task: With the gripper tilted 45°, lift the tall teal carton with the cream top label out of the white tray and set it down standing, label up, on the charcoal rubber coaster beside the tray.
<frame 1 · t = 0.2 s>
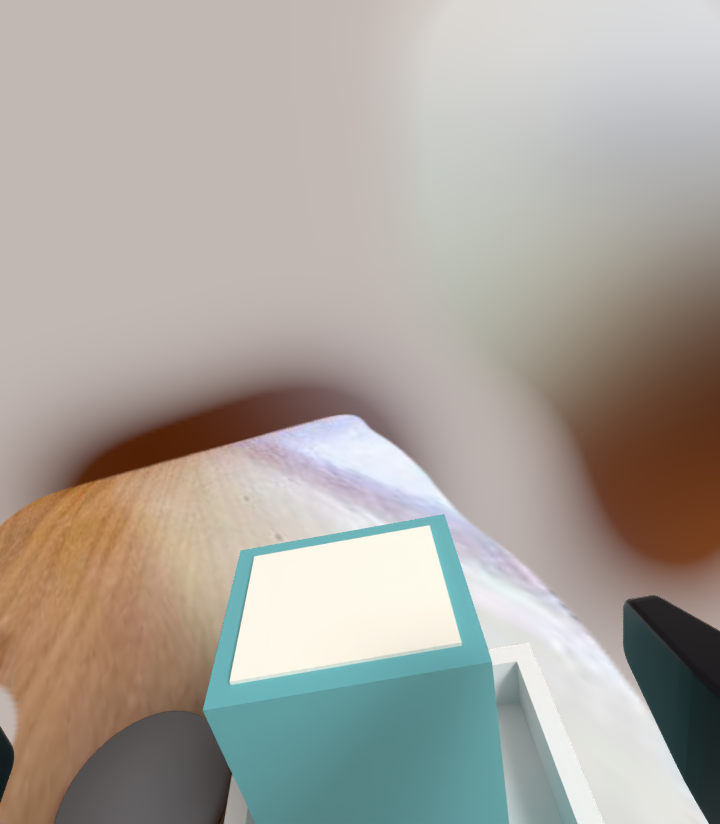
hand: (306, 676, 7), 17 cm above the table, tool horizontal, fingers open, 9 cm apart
charcoal coaster: (149, 803, 23), on the table
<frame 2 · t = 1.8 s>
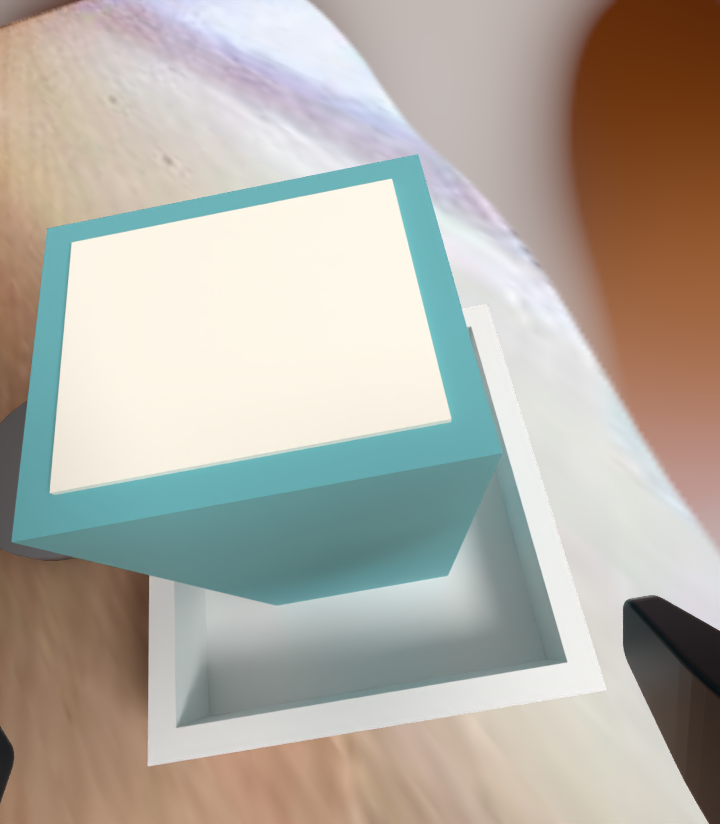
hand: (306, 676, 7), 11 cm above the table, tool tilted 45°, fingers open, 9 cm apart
teal carton: (351, 519, 19), resting on white tray
charcoal coaster: (73, 472, 22), on the table
white tray: (352, 521, 20), on the table
when the fingers open (9 cm above the table, at t = 7.5 s): teal carton drops 2 cm, resting on charcoal coaster.
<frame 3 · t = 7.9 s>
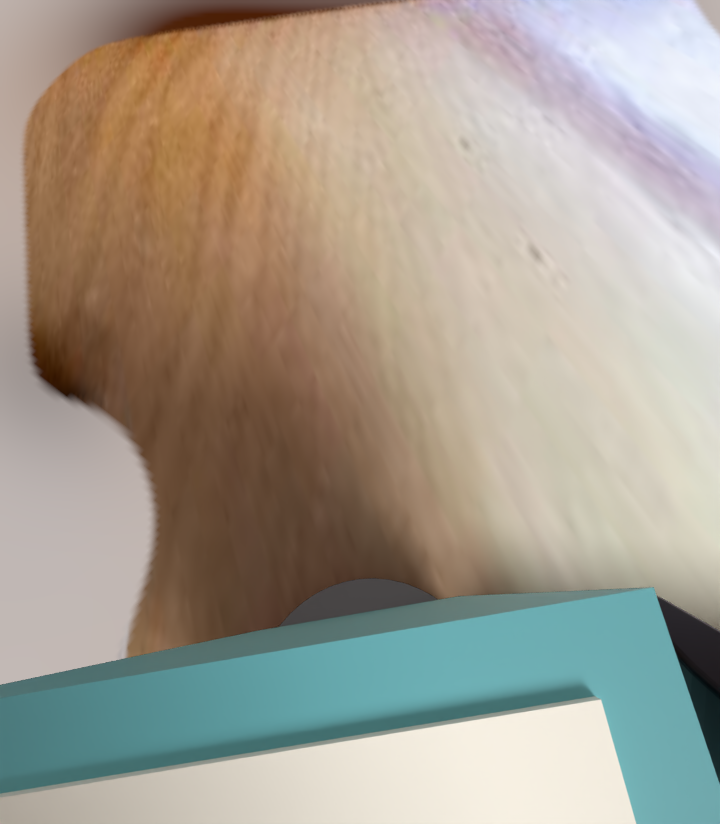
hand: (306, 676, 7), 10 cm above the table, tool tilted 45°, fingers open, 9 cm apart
teal carton: (371, 709, 15), point 1 cm above the table, touching charcoal coaster
charcoal coaster: (374, 705, 16), on the table
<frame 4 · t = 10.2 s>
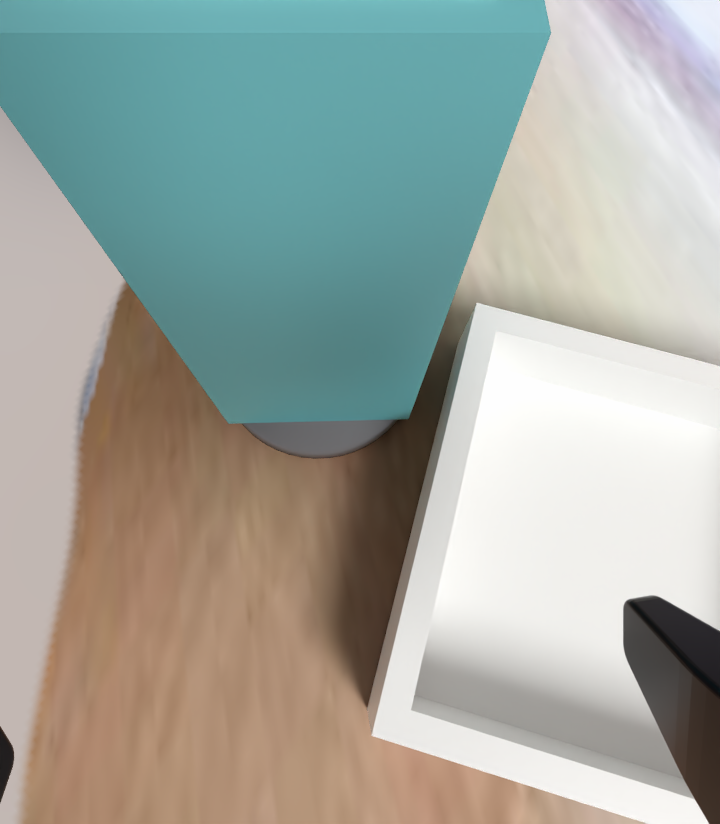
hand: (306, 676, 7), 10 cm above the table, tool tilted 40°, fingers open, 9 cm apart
teal carton: (318, 352, 18), point 1 cm above the table, touching charcoal coaster
charcoal coaster: (319, 365, 19), on the table
white tray: (602, 559, 17), on the table
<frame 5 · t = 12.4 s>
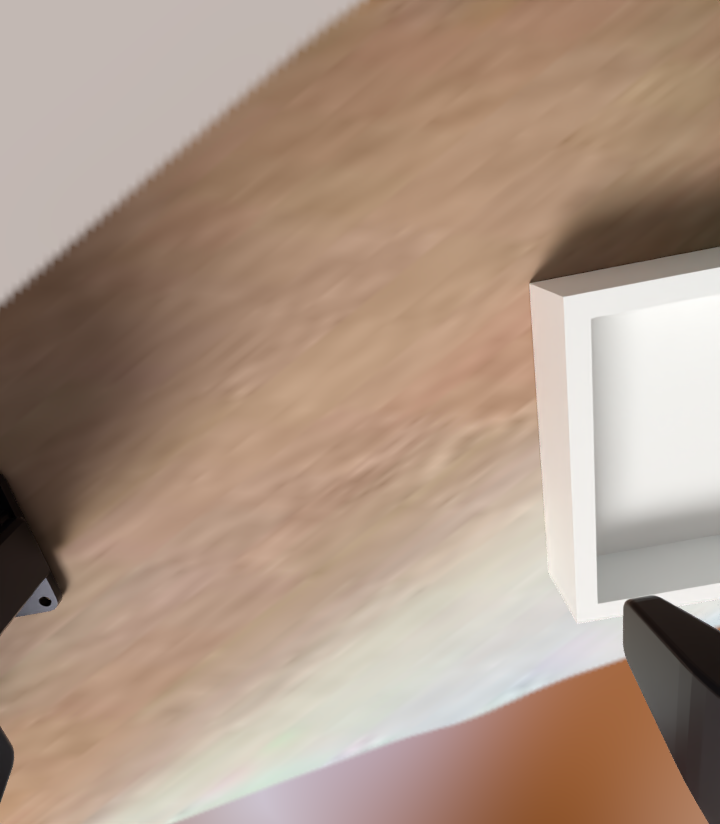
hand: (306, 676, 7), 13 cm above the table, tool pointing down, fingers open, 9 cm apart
white tray: (700, 414, 21), on the table
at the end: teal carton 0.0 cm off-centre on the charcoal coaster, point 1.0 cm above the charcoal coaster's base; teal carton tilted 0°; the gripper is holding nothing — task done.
